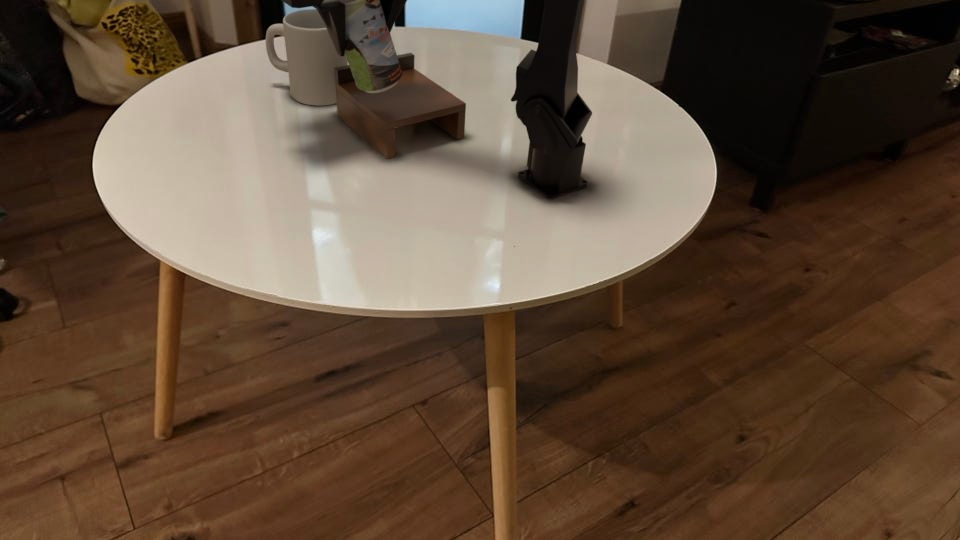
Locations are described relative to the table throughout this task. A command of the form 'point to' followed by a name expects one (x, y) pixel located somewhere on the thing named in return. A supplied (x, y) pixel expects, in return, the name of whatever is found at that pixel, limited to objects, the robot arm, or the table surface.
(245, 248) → the table surface
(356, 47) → the beverage can
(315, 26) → the mug
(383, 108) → the wooden riser stand
